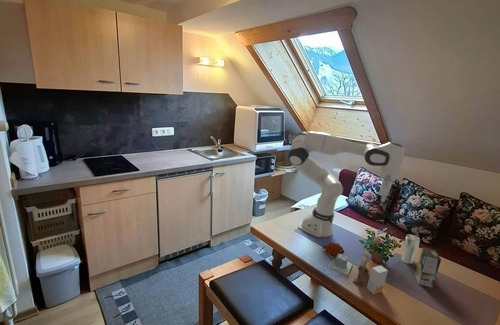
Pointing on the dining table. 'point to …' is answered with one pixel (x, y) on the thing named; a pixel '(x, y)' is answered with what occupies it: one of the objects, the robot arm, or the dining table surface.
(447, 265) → the dining table surface
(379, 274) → the skincare box
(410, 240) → the beer glass
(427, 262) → the coffee box
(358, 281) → the brown flat upright piece
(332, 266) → the coaster
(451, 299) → the dining table surface
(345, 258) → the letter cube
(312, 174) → the robot arm
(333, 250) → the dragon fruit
